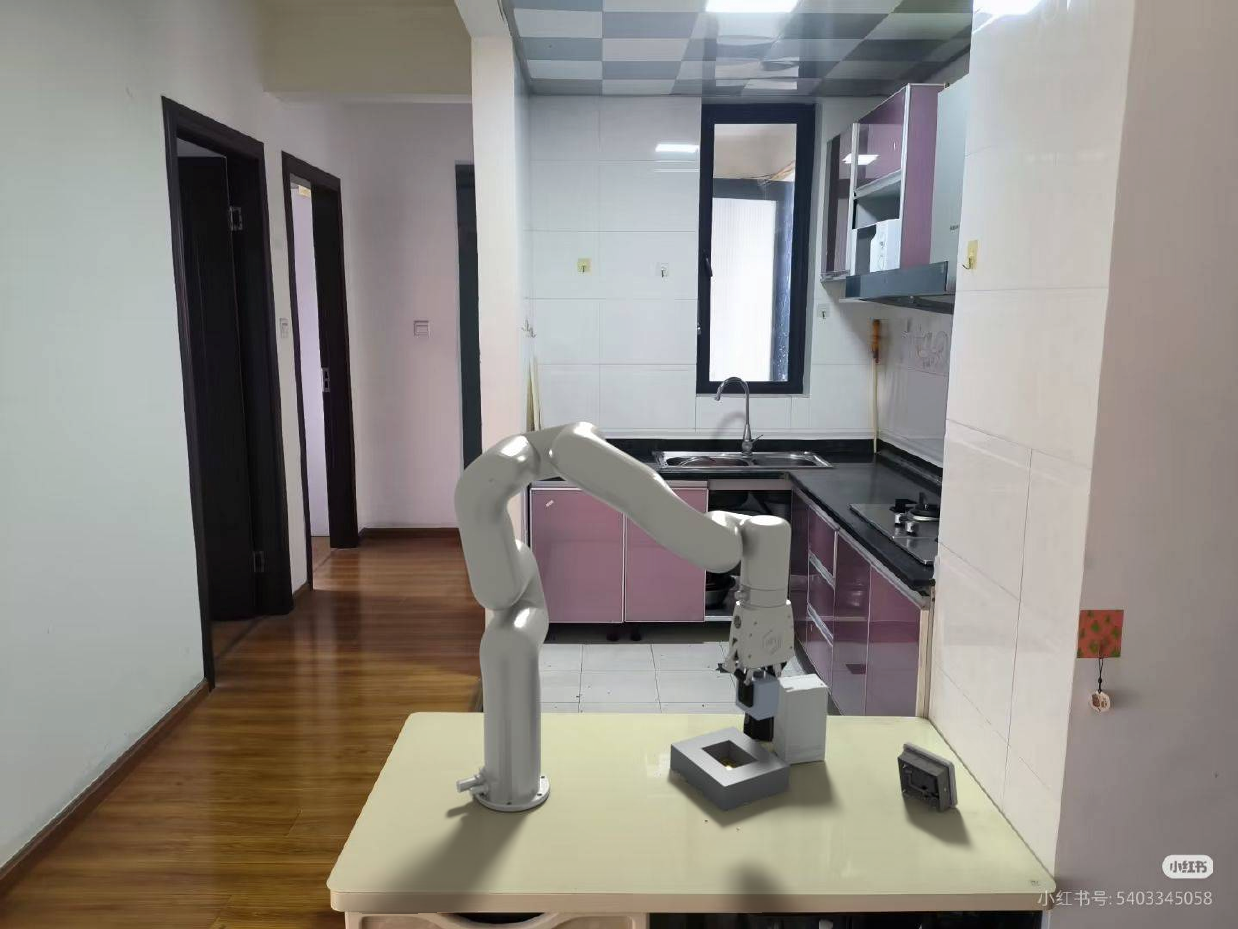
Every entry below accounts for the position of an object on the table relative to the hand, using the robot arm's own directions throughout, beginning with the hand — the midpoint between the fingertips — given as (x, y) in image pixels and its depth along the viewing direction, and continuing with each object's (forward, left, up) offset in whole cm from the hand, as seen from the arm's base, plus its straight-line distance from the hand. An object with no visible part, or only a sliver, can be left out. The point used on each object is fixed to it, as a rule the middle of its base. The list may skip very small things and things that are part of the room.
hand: (757, 700), depth 147 cm
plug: (0, 0, -2) cm, 2 cm away
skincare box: (+18, +9, -19) cm, 28 cm away
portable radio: (+17, +19, -19) cm, 32 cm away
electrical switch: (+27, -13, -19) cm, 36 cm away
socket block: (+2, +9, -19) cm, 21 cm away
